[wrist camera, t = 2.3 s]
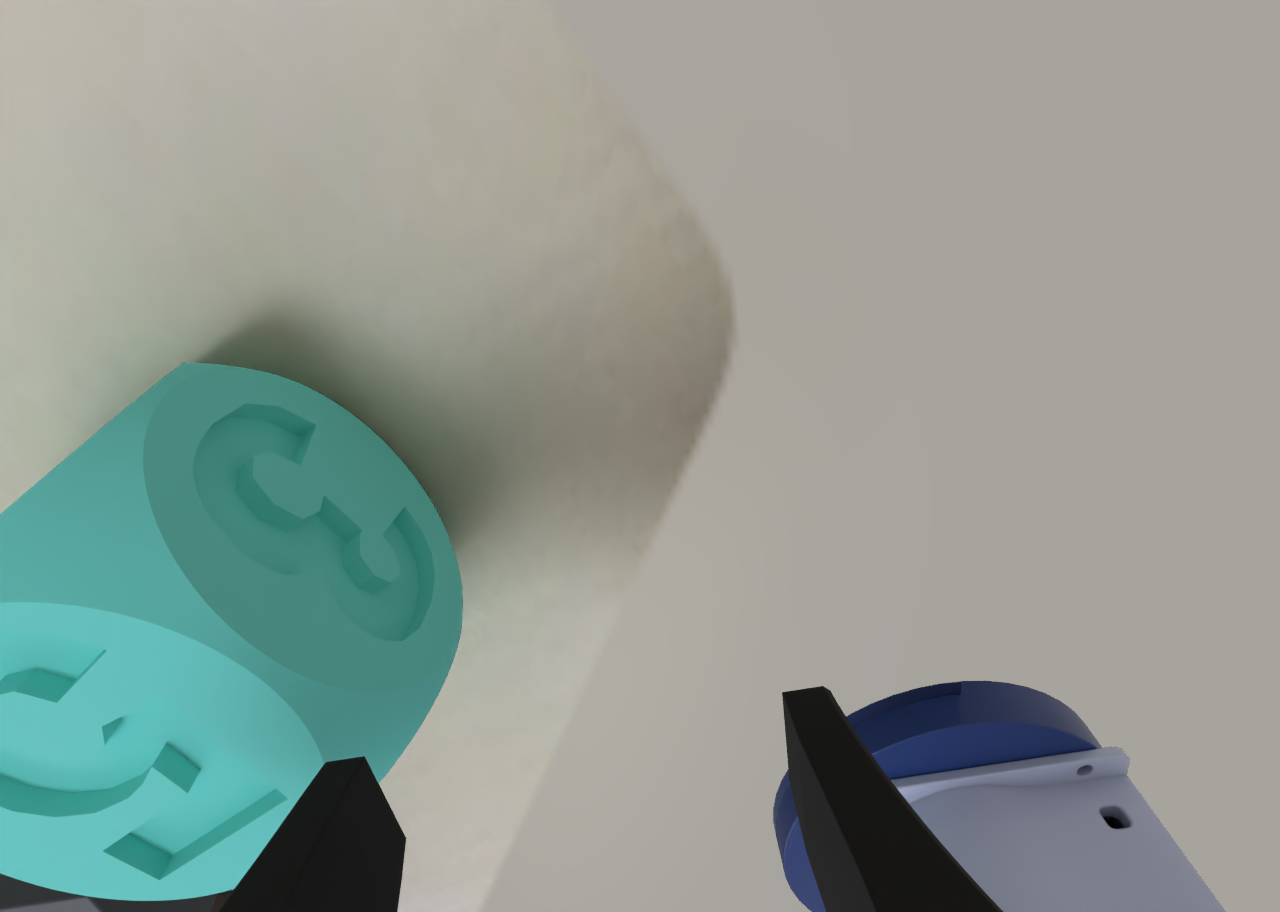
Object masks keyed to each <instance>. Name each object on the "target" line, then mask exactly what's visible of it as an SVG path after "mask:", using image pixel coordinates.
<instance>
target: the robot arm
mask: <svg viewBox="0 0 1280 912" xmlns="http://www.w3.org/2000/svg"><path fill="white" fill-rule="evenodd" d="M782 695H783V707H784V719H785V731H786V743H787V754H788V768H789V780H790V785H791V789H792V794H793V798H794V802H795V807H796V811H797V815H798V819H799V824H800V828H801V832H802V836H803V840H804V845H805V849H806V853H807V856H808V859H809V862H810V865H811V868H812V871H813V874H814V877H815V880H816V883H817V886H818V889H819V892H820V895H821V898H822V901H823V904H824V907H825V910H826V912H1226V911H1225V910H1224V909H1223V907H1222V906H1221V904H1220V903H1219V902H1218V900H1217V899H1216V897H1215V896H1214V895H1213V893H1212V892H1211V891H1210V889H1209V888H1208V886H1207V885H1206V884H1205V882H1204V881H1203V879H1201V877H1200V875H1199V874H1198V873H1197V871H1196V870H1195V869H1194V867H1193V866H1192V864H1191V863H1190V862H1189V860H1188V859H1187V857H1186V856H1185V855H1184V853H1183V852H1182V850H1181V849H1180V848H1179V846H1178V845H1177V844H1176V842H1175V841H1174V839H1173V838H1172V837H1171V835H1170V834H1169V833H1168V831H1167V830H1166V828H1165V827H1164V826H1163V824H1162V823H1161V822H1160V820H1159V819H1158V817H1157V816H1156V815H1155V813H1154V812H1153V810H1152V809H1151V808H1150V806H1149V805H1148V804H1147V802H1146V801H1145V799H1144V798H1143V797H1142V795H1141V794H1140V793H1139V791H1138V790H1137V789H1136V787H1135V786H1134V784H1133V783H1132V781H1131V780H1130V779H1129V777H1128V776H1127V772H1128V768H1129V763H1130V758H1129V757H1128V756H1127V755H1126V753H1125V752H1124V751H1123V750H1122V748H1119V747H1106V748H1099V749H1092V750H1085V751H1078V752H1072V753H1065V754H1058V755H1052V756H1045V757H1038V758H1031V759H1025V760H1018V761H1011V762H1005V763H998V764H991V765H984V766H978V767H971V768H964V769H958V770H951V771H944V772H938V773H931V774H924V775H917V776H911V777H904V778H897V779H891V780H890V779H889V778H888V776H887V775H886V774H885V772H884V771H883V770H882V768H881V767H880V766H879V764H878V763H877V761H876V760H875V759H874V757H873V756H872V754H871V753H870V752H869V750H868V749H867V747H866V746H865V745H864V743H863V742H862V740H861V739H860V737H859V736H858V734H857V733H856V732H855V730H854V729H853V727H852V726H851V724H850V722H849V721H848V719H847V718H846V716H845V715H844V713H843V712H842V710H841V708H840V707H839V705H838V704H837V702H836V700H835V698H834V697H833V695H832V693H831V691H830V690H828V689H827V688H825V687H823V686H821V687H815V688H808V689H802V690H795V691H788V692H783V693H782ZM405 843H406V837H405V835H404V833H403V831H402V830H401V828H400V826H399V824H398V822H397V820H396V818H395V816H394V814H393V812H392V810H391V808H390V806H389V804H388V802H387V800H386V798H385V796H384V794H383V792H382V790H381V788H380V786H379V784H378V782H377V780H376V778H375V776H374V774H373V772H372V770H371V768H370V766H369V764H368V762H367V760H366V758H365V756H362V757H356V758H349V759H343V760H336V761H330V762H325V764H324V765H323V766H322V768H321V769H320V770H319V772H318V773H317V775H316V776H315V777H314V779H313V780H312V781H311V783H310V784H309V786H308V787H307V788H306V790H305V791H304V793H303V794H302V795H301V797H300V798H299V800H298V801H297V802H296V804H295V805H294V807H293V808H292V810H291V811H290V812H289V814H288V815H287V817H286V818H285V819H284V821H283V822H282V824H281V825H280V827H279V828H278V829H277V831H276V832H275V834H274V835H273V836H272V838H271V839H270V841H269V842H268V843H267V845H266V846H265V848H264V849H263V850H262V852H261V853H260V855H259V856H258V857H257V859H256V860H255V862H254V863H253V864H252V866H251V867H250V868H249V870H248V871H247V872H246V874H245V875H244V877H243V878H242V879H241V881H240V882H239V883H238V885H237V886H236V887H235V889H234V890H233V891H232V893H231V894H230V896H229V897H228V898H227V900H226V901H225V902H224V904H223V905H222V906H221V908H220V909H219V911H218V912H397V909H398V902H399V894H400V887H401V880H402V871H403V862H404V852H405Z"/></svg>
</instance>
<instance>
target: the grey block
mask: <svg viewBox="0 0 1280 912" xmlns="http://www.w3.org/2000/svg"><path fill="white" fill-rule="evenodd" d="M217 895H218V893H216V894H212V895H208V896H202V897H196V898H188V899H178V900H163V901H131V900H115V899H105V898H97V897H90V896H83V895H78V894H72V893H67V892H62V891H58V890H53V889H49V888H45V887H41V886H38V885H34V884H31V883H27V882H24V881H21V880H18V879H15V878H12V877H9V876H6V875H4V874H1V873H0V912H210V911H211V909H212V906H213V904H214V902H215V900H216V897H217Z"/></svg>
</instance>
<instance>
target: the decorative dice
mask: <svg viewBox="0 0 1280 912" xmlns="http://www.w3.org/2000/svg"><path fill="white" fill-rule="evenodd" d="M462 608H463V598H462V585H461V578H460V572H459V568H458V563H457V560H456V556H455V553H454V550H453V547H452V544H451V541H450V539H449V536H448V534H447V531H446V529H445V527H444V525H443V523H442V521H441V519H440V517H439V515H438V513H437V511H436V509H435V507H434V505H433V504H432V502H431V500H430V499H429V497H428V496H427V494H426V492H425V491H424V489H423V488H422V486H421V485H420V484H419V482H418V481H417V479H416V478H415V477H414V475H413V474H412V473H411V471H410V470H409V469H408V468H407V466H406V465H405V464H404V463H403V462H402V460H401V459H400V458H399V457H398V456H397V455H396V454H395V452H394V451H393V450H392V449H391V448H390V447H389V446H388V445H387V444H386V443H385V442H384V441H383V440H382V439H381V438H380V437H379V436H378V435H377V434H376V433H374V432H373V431H372V430H371V429H370V428H369V427H368V426H366V425H365V424H364V423H363V422H362V421H360V420H359V419H358V418H357V417H355V416H354V415H353V414H351V413H350V412H349V411H347V410H346V409H344V408H343V407H341V406H340V405H338V404H337V403H335V402H334V401H332V400H331V399H329V398H327V397H325V396H324V395H322V394H320V393H318V392H316V391H314V390H312V389H311V388H309V387H306V386H304V385H302V384H300V383H298V382H295V381H292V380H290V379H287V378H284V377H281V376H278V375H275V374H271V373H267V372H263V371H259V370H254V369H249V368H244V367H236V366H229V365H221V364H209V363H186V362H185V363H183V364H181V365H180V366H179V367H177V368H176V369H175V370H173V371H172V372H171V373H169V374H168V375H167V376H165V377H164V378H163V379H162V380H160V381H159V382H158V383H157V384H155V385H154V386H153V387H152V388H150V389H149V390H148V391H147V392H145V393H144V394H143V395H142V396H140V397H139V398H138V399H137V400H136V401H134V402H133V403H132V404H131V405H129V406H128V407H127V408H126V409H125V410H123V411H122V412H121V413H120V414H119V415H117V416H116V417H115V418H114V419H112V420H111V421H110V422H109V423H108V424H106V425H105V426H104V427H103V428H102V429H100V430H99V431H98V432H97V433H96V434H94V435H93V436H92V437H91V438H90V439H89V440H87V441H86V442H85V443H84V444H83V445H81V446H80V447H79V448H78V449H77V450H75V451H74V452H73V453H72V454H71V455H69V456H68V457H67V458H66V459H65V460H64V461H62V462H61V463H60V464H59V465H58V466H56V467H55V468H54V469H53V470H52V471H51V472H49V473H48V474H47V475H46V476H45V477H44V478H42V479H41V480H40V481H39V482H38V483H36V484H35V485H34V486H33V487H32V488H31V489H29V490H28V491H27V492H26V493H25V494H24V495H22V496H21V497H20V498H19V499H18V500H17V501H15V502H14V503H13V504H12V505H11V506H10V507H8V508H7V509H6V510H5V511H4V512H3V513H1V514H0V873H1V874H4V875H6V876H9V877H12V878H15V879H18V880H21V881H24V882H27V883H31V884H34V885H38V886H41V887H45V888H49V889H53V890H58V891H62V892H67V893H72V894H78V895H83V896H90V897H97V898H105V899H115V900H131V901H163V900H178V899H188V898H196V897H202V896H208V895H212V894H216V893H221V892H225V891H229V890H232V889H235V887H236V886H237V885H238V883H239V882H240V881H241V879H242V878H243V877H244V875H245V874H246V872H247V871H248V870H249V868H250V867H251V866H252V864H253V863H254V862H255V860H256V859H257V857H258V856H259V855H260V853H261V852H262V850H263V849H264V848H265V846H266V845H267V843H268V842H269V841H270V839H271V838H272V836H273V835H274V834H275V832H276V831H277V829H278V828H279V827H280V825H281V824H282V822H283V821H284V819H285V818H286V817H287V815H288V814H289V812H290V811H291V810H292V808H293V807H294V805H295V804H296V802H297V801H298V800H299V798H300V797H301V795H302V794H303V793H304V791H305V790H306V788H307V787H308V786H309V784H310V783H311V781H312V780H313V779H314V777H315V776H316V775H317V773H318V772H319V770H320V769H321V768H322V766H323V765H324V764H325V762H330V761H336V760H343V759H349V758H356V757H362V756H365V758H366V760H367V762H368V764H369V766H370V768H371V770H372V772H373V774H374V776H375V778H376V780H377V782H378V784H379V782H380V781H381V780H382V779H383V778H384V776H385V775H386V774H387V773H388V771H389V770H390V769H391V767H392V766H393V765H394V764H395V762H396V761H397V760H398V758H399V757H400V755H401V754H402V753H403V751H404V750H405V748H406V747H407V745H408V744H409V743H410V741H411V740H412V738H413V737H414V735H415V733H416V732H417V730H418V729H419V727H420V726H421V724H422V723H423V721H424V719H425V717H426V716H427V714H428V712H429V710H430V709H431V707H432V705H433V703H434V701H435V700H436V698H437V696H438V694H439V692H440V690H441V688H442V686H443V683H444V681H445V679H446V677H447V675H448V672H449V670H450V667H451V665H452V662H453V659H454V656H455V653H456V650H457V647H458V643H459V639H460V634H461V628H462Z"/></svg>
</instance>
